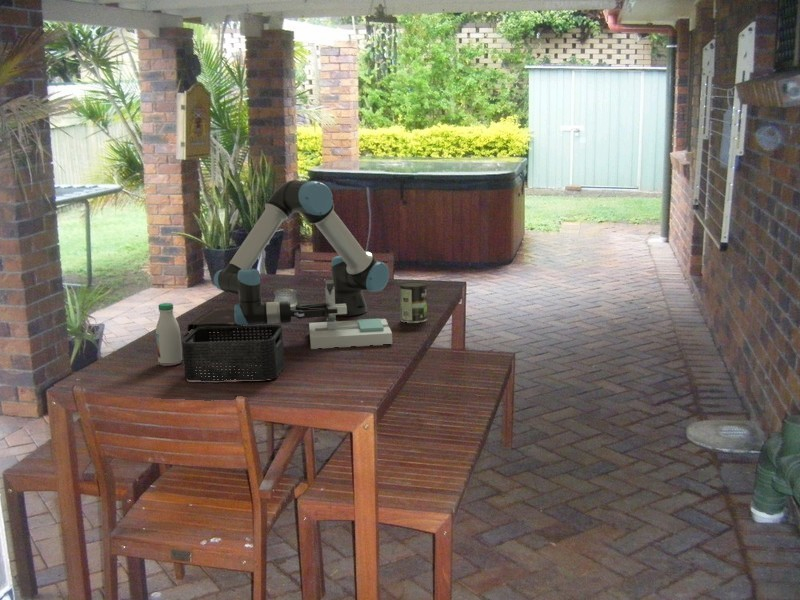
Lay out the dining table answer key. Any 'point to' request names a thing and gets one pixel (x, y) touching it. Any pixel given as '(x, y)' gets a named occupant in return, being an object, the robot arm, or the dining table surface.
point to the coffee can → (413, 302)
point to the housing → (347, 335)
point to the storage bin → (234, 353)
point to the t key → (330, 304)
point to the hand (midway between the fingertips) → (346, 308)
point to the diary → (215, 319)
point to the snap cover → (370, 325)
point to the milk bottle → (168, 335)
